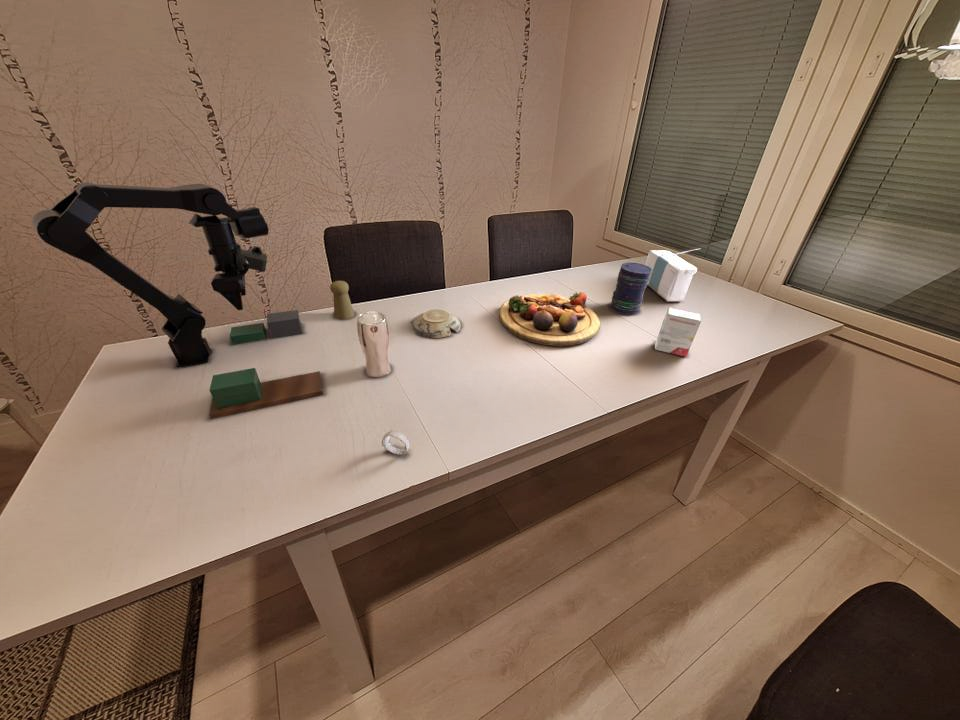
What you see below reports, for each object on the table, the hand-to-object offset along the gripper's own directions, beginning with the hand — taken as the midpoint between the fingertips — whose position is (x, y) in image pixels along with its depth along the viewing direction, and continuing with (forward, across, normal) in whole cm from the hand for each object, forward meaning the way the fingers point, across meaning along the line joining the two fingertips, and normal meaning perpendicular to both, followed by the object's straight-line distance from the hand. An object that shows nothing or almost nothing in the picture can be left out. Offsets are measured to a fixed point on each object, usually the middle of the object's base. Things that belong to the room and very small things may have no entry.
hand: (242, 302), depth 97 cm
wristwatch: (+11, -55, -28) cm, 62 cm away
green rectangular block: (+11, +1, +1) cm, 11 cm away
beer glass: (+11, -27, -29) cm, 41 cm away
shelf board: (+11, -28, -5) cm, 31 cm away
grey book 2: (+11, +1, -8) cm, 14 cm away
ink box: (+10, -45, -110) cm, 120 cm away
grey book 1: (+8, +1, -8) cm, 12 cm away
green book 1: (+7, -28, +1) cm, 29 cm away
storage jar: (+10, -19, -116) cm, 118 cm away
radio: (+10, -11, -141) cm, 142 cm away
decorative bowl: (+11, -10, -50) cm, 52 cm away
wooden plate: (+10, -18, -85) cm, 88 cm away
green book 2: (+10, -28, +1) cm, 30 cm away
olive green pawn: (+11, +6, -25) cm, 28 cm away
